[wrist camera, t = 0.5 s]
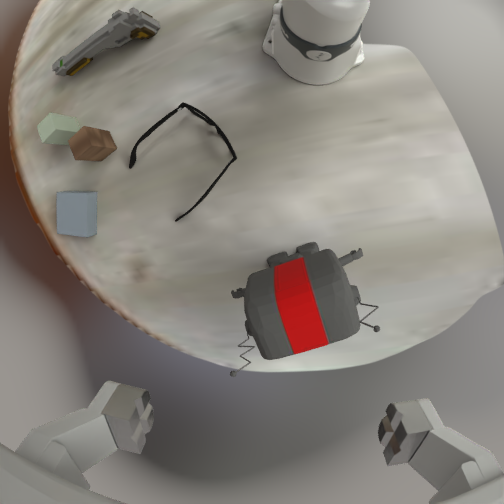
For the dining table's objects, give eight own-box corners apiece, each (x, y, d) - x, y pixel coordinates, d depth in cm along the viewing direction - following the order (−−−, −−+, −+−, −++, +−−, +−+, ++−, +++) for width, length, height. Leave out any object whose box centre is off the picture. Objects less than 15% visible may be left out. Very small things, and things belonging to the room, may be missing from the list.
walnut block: (94, 143, 53) (67, 140, 44) (109, 131, 52) (83, 126, 44) (101, 161, 54) (75, 160, 45) (117, 148, 53) (91, 145, 44)
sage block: (63, 129, 53) (36, 126, 44) (75, 117, 52) (49, 112, 43) (68, 145, 54) (42, 143, 45) (82, 132, 53) (55, 129, 44)
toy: (161, 34, 46) (131, 18, 37) (83, 82, 54) (52, 77, 45) (158, 16, 45) (129, -1, 36) (82, 64, 53) (52, 58, 44)
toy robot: (249, 302, 57) (216, 410, 28) (231, 258, 56) (177, 340, 27) (358, 266, 53) (422, 352, 24) (344, 220, 52) (409, 267, 23)
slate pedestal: (67, 190, 57) (56, 192, 53) (98, 191, 56) (87, 193, 52) (68, 230, 59) (57, 233, 55) (97, 233, 58) (87, 237, 54)
